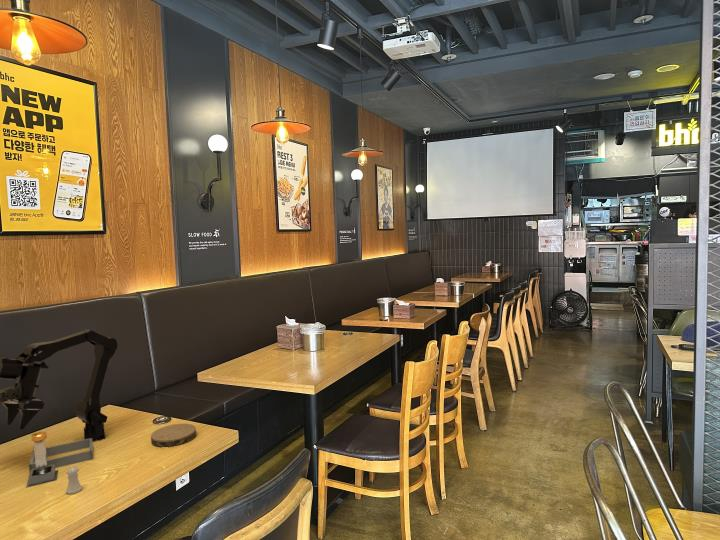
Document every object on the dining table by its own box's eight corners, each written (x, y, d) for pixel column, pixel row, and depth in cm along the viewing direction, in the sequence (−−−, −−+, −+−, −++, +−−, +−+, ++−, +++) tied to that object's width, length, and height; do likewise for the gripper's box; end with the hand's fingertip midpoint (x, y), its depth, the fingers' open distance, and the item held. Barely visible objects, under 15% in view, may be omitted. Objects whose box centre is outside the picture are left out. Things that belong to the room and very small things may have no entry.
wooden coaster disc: (169, 451, 170) (168, 443, 170) (142, 443, 179) (141, 435, 178) (205, 435, 184) (204, 427, 183) (178, 428, 192) (177, 421, 192)
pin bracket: (58, 473, 157) (57, 462, 157) (57, 483, 150) (56, 472, 150) (29, 479, 153) (28, 469, 153) (26, 490, 146) (25, 479, 146)
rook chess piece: (70, 490, 145) (68, 465, 144) (85, 489, 145) (83, 464, 145) (62, 498, 140) (60, 472, 140) (78, 497, 141) (76, 471, 140)
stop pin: (50, 474, 154) (46, 430, 153) (49, 479, 151) (45, 434, 150) (35, 477, 152) (31, 433, 151) (34, 483, 149) (30, 437, 148)
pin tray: (92, 448, 175) (92, 437, 175) (93, 461, 164) (92, 450, 164) (34, 461, 166) (33, 450, 166) (30, 476, 155) (29, 464, 155)
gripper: (-11, 375, 164) (-25, 422, 160) (14, 382, 154) (-1, 432, 150) (25, 377, 173) (12, 422, 169) (50, 384, 163) (37, 431, 159)
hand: (14, 427), depth 162 cm, fingers open, 9 cm apart
